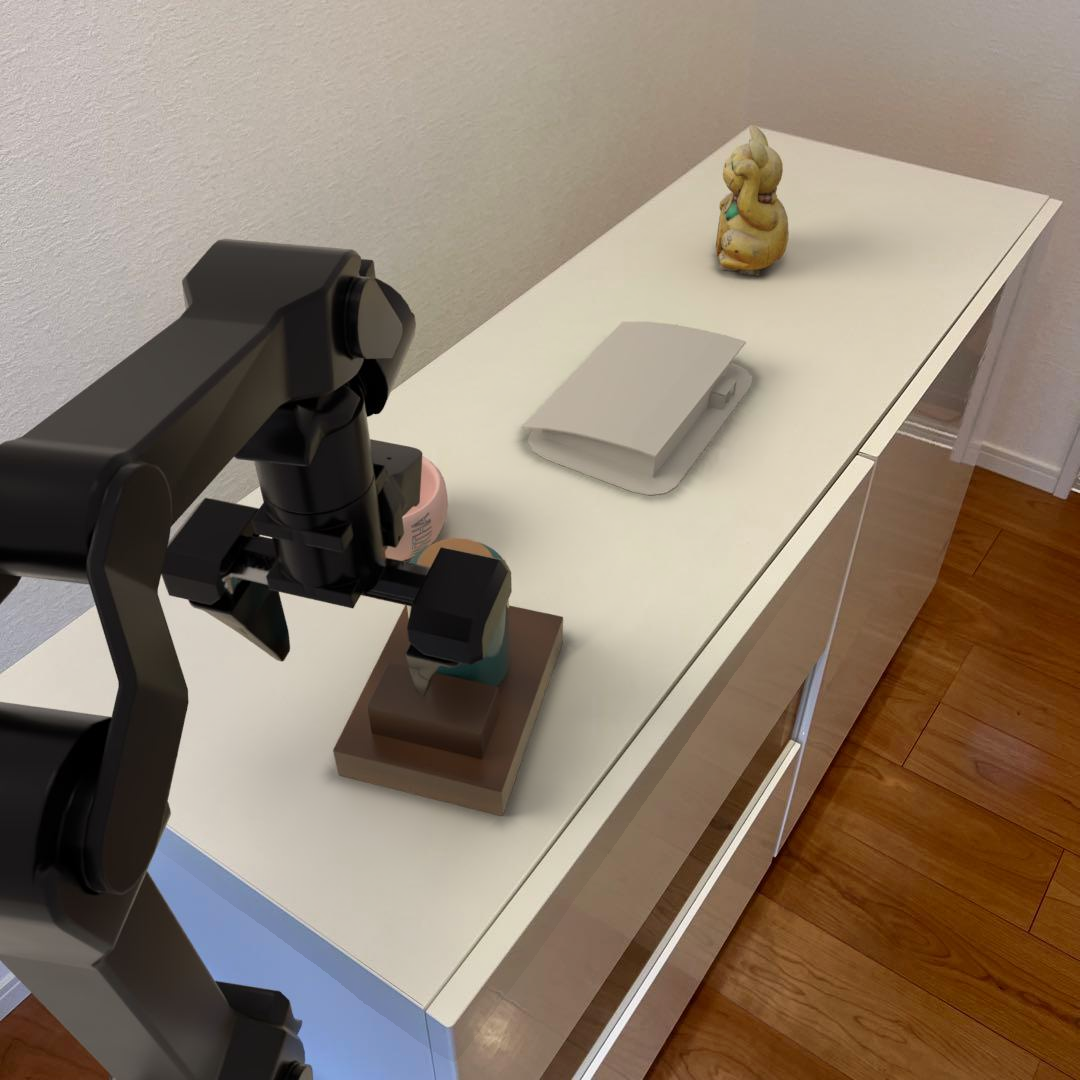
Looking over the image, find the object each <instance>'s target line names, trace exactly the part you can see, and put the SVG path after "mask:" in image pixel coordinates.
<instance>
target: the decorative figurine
mask: <svg viewBox="0 0 1080 1080" xmlns="http://www.w3.org/2000/svg"><path fill="white" fill-rule="evenodd" d="M749 133H750V138H749V139H748V143H744V144H741V145H739V146H736V147H735V149H734V150H733V151H732V152H731V154H730V156H729V157H728V158H726V159H725V161H724V165H723V168H722V169H723V172H722V179H723V181H724V183H725V186H726V188H727V189H728V190H729V191H730V193H728V194H726V196H724V198H722V199H721V200H720V201H719V211H720V212H719V213H720V214H719V217H718V218H719V219H718V225H717V226H718V227H717V233H716V243H715V247H716V249H715V250H716V256H717V257H718V261H719V268H720V270H721V271H730V272H738V273H739V274H743V275H748V276H749V275H750V276H757V277H760V276H761V270H763V269H766V268H768V267H770V266H772V265H773V264H775V263H776V262H777V261H778V260H781V259H782V258H783V256H784V255H785V252H786V249H787V247H788V246H787V245H788V242H789V235H790V234H789V219H788V214H787V211H786V208H785V206H784V205H783V203H782V202H781V200H780V199H779V198H778V195H777V190H778V186H779V184H780V182H781V180H782V177H783V172H784V170H783V169H784V167H783V166H784V165H783V160H782V158H781V156H780V155H779V154H778V152H777V151H776V150H775V149H773V148H772V147H770V145H769V142H768V138H767V136H766V135H765V134H764V132H763V131H762V130H761V129H760V127H758V126H756V125H754V124H749Z"/></svg>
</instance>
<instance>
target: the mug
mask: <svg viewBox="0 0 1080 1080" xmlns="http://www.w3.org/2000/svg"><path fill="white" fill-rule="evenodd" d="M448 507H449V498H448V492H447V485H446V481H445V479H444V476H443V474H442V472H441V470H440V469H439V468H438V467H437V466H436V465H435V464H434V463H433V461H431V460H430V459H428V458H427V457H425V456H423V455H422V472H421V489H420V503H419V504H418V505H417V506H416V507H415V506H413V507H412V508H411V509H410V510H409V511H408V512H407V513H406V514H405V515H404V516H403V517H402V519H403V528H404V535H403V537H402V538H401V540H400V542H399V544H398V546H397V547H396V548H394V547H389V546H388V547H387V549H386V551H385V554H386V558H390V559H395V560H400V561H406V560H409V559H412V558H413V557H414V556H415V555H416V554H417V553H418V552H420V551H421V550H423V549H424V548H426V547H428V546H430V545H432V544H434V543H435V540H436V539H437V538H438V536H439V534H440V532H441V530H442V528H443V526H444V524H445V522H446V520H447V519H446V518H447V512H448Z"/></svg>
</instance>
